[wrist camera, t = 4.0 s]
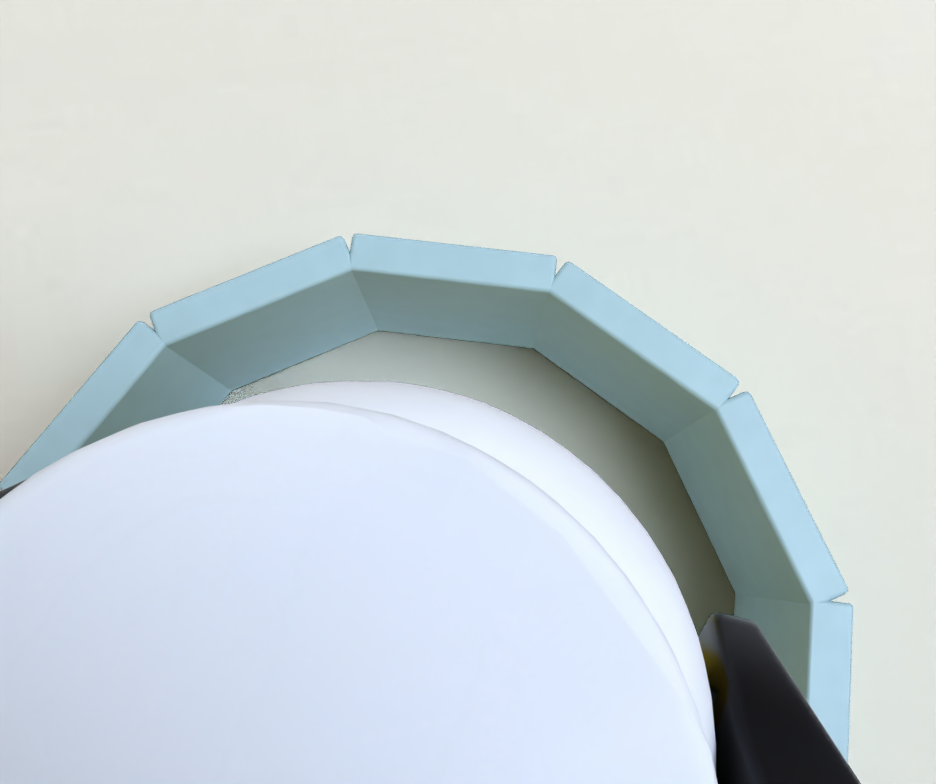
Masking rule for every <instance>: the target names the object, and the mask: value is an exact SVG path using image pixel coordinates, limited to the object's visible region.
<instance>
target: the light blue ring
mask: <svg viewBox="0 0 936 784" xmlns="http://www.w3.org/2000/svg"><path fill="white" fill-rule="evenodd" d="M556 263H557V260H556V257H555V256H553V255H544V254H535V253H526V252H517V251H508V250H499V249H490V248H481V247H473V246H464V245H455V244H446V243H437V242H428V241H419V240H410V239H401V238H392V237H383V236H374V235H365V234H354V236H353V237H352V243H351V249H350V252H349V250H348V247H347V245H346V242H345V240H344V239H343V238H342V237H341V236H339V237H335V238H333V239H330V240H328V241H326V242H323V243H321V244H318V245H316V246H313V247H311V248H308V249H306V250H303V251H301V252H298V253H296V254H293V255H291V256H288V257H286V258H283V259H281V260H278V261H276V262H273V263H271V264H268V265H266V266H263V267H261V268H258V269H256V270H254V271H251V272H249V273H246V274H244V275H241V276H239V277H236V278H234V279H231V280H229V281H226V282H224V283H221V284H219V285H216V286H214V287H211V288H209V289H206V290H204V291H201V292H199V293H196V294H194V295H191V296H189V297H186V298H184V299H181V300H179V301H177V302H174V303H172V304H169V305H167V306H164V307H162V308H159V309H157V310H154V311H152V312H151V313H150V318H151V320H152V323H153V326H154V329H155V330H154V329H152V328H151V327H149V326H148V325H147V324H145V323H144V322H141V321H138V322H137V323H136V324H135V325H134V326H133V327H132V328H131V330H130V331H129V332H128V333H127V334H126V335H125V337H124V338H123V339H122V340H121V341H120V342H119V344H118V345H117V346H116V347H115V348H114V350H113V351H112V352H111V353H110V354H109V355H108V357H107V358H106V359H105V360H104V361H103V362H102V364H101V365H100V366H99V367H98V368H97V369H96V371H95V372H94V373H93V374H92V375H91V377H90V378H89V379H88V380H87V381H86V382H85V384H84V385H83V386H82V387H81V388H80V389H79V391H78V392H77V393H76V394H75V395H74V397H73V398H72V399H71V400H70V401H69V402H68V404H67V405H66V406H65V407H64V408H63V409H62V411H61V412H60V413H59V414H58V415H57V416H56V418H55V419H54V420H53V421H52V422H51V424H50V425H49V426H48V427H47V428H46V429H45V431H44V432H43V433H42V434H41V435H40V436H39V438H38V439H37V440H36V441H35V442H34V444H33V445H32V446H31V447H30V448H29V449H28V451H27V452H26V453H25V454H24V455H23V456H22V458H21V459H20V460H19V461H18V462H17V463H16V465H15V466H14V467H13V468H12V469H11V471H10V472H9V473H8V474H7V475H6V476H5V478H4V479H3V480H2V481H1V482H0V489H1V490H4V489H6V488H8V487H10V486H13V485H15V484H17V483H19V482H21V481H24V480H26V479H28V478H30V477H31V476H32V475H34V474H35V473H37V472H38V471H40V470H42V469H44V468H45V467H47V466H49V465H51V464H52V463H54V462H56V461H58V460H60V459H61V458H63V457H65V456H67V455H68V454H70V453H72V452H74V451H76V450H78V449H80V448H83V447H85V446H87V445H89V444H92V443H94V442H96V441H99V440H101V439H103V438H106V437H108V436H110V435H112V434H115V433H117V432H119V431H122V430H124V429H126V428H129V427H131V426H134V425H137V424H139V423H142V422H146V421H150V420H153V419H157V418H161V417H165V416H168V415H172V414H176V413H180V412H185V411H189V410H194V409H198V408H202V407H208V406H215V405H220V404H221V403H222V402H223V401H224V399H225V398H226V397H227V396H228V394H229V393H230V392H231V391H232V390H234V389H237V388H239V387H242V386H244V385H247V384H249V383H251V382H254V381H256V380H259V379H261V378H264V377H266V376H268V375H271V374H273V373H276V372H278V371H281V370H283V369H285V368H288V367H290V366H293V365H295V364H298V363H300V362H302V361H305V360H307V359H310V358H312V357H315V356H317V355H319V354H322V353H324V352H327V351H329V350H332V349H334V348H336V347H339V346H341V345H344V344H346V343H349V342H351V341H353V340H356V339H358V338H361V337H363V336H366V335H368V334H370V333H373V332H375V331H378V330H379V331H388V332H396V333H405V334H414V335H422V336H431V337H440V338H448V339H457V340H466V341H474V342H483V343H492V344H500V345H509V346H518V347H526V348H534V349H535V350H537V351H538V352H539V353H541V354H542V355H544V356H545V357H546V358H548V359H549V360H551V361H552V362H553V363H555V364H556V365H557V366H559V367H560V368H562V369H563V370H564V371H566V372H567V373H569V374H570V375H571V376H573V377H574V378H576V379H577V380H578V381H580V382H581V383H583V384H584V385H585V386H587V387H588V388H589V389H591V390H592V391H594V392H595V393H596V394H598V395H599V396H601V397H602V398H603V399H605V400H606V401H608V402H609V403H610V404H612V405H613V406H615V407H616V408H617V409H619V410H620V411H621V412H623V413H624V414H626V415H627V416H628V417H630V418H631V419H633V420H634V421H635V422H637V423H638V424H640V425H641V426H642V427H644V428H645V429H646V430H648V431H649V432H651V433H652V434H653V435H655V436H656V437H658V438H659V439H660V440H662V441H663V442H664V444H665V446H666V448H667V450H668V452H669V454H670V456H671V458H672V461H673V463H674V465H675V467H676V469H677V471H678V473H679V475H680V477H681V479H682V482H683V484H684V486H685V488H686V490H687V492H688V494H689V496H690V498H691V501H692V503H693V505H694V507H695V509H696V511H697V513H698V515H699V517H700V519H701V522H702V524H703V526H704V528H705V530H706V532H707V534H708V536H709V538H710V541H711V543H712V545H713V547H714V549H715V551H716V553H717V555H718V557H719V559H720V562H721V564H722V566H723V568H724V570H725V572H726V574H727V576H728V578H729V581H730V583H731V585H732V587H733V589H734V591H735V610H734V616H737V617H741V618H745V619H749V620H751V621H753V622H754V623H755V624H756V625H757V626H758V627H759V628H760V630H761V631H762V633H763V634H764V636H765V637H766V639H767V640H768V642H769V643H770V645H771V646H772V648H773V650H774V651H775V653H776V654H777V656H778V657H779V659H780V660H781V662H782V663H783V665H784V666H785V668H786V670H787V671H788V673H789V674H790V676H791V677H792V679H793V680H794V682H795V683H796V685H797V686H798V688H799V689H800V691H801V693H802V694H803V696H804V697H805V699H806V700H807V702H808V703H809V705H810V706H811V708H812V709H813V711H814V713H815V714H816V716H817V717H818V719H819V720H820V722H821V723H822V725H823V726H824V728H825V729H826V731H827V732H828V734H829V736H830V737H831V739H832V740H833V742H834V743H835V745H836V746H837V748H838V749H839V751H840V752H841V754H842V755H843V757H844V759H845V760H846V762H847V763H848V743H849V713H850V684H851V654H852V625H853V606H852V605H851V604H849V603H841V602H833V601H831V600H833V599H835V598H837V597H840V596H842V595H844V594H846V592H847V591H848V588H847V585H846V583H845V581H844V579H843V577H842V575H841V573H840V571H839V569H838V567H837V565H836V563H835V561H834V559H833V557H832V555H831V553H830V551H829V549H828V547H827V545H826V543H825V541H824V539H823V537H822V535H821V533H820V532H819V530H818V528H817V526H816V524H815V522H814V520H813V518H812V516H811V514H810V512H809V510H808V508H807V506H806V504H805V502H804V500H803V498H802V496H801V494H800V492H799V490H798V488H797V486H796V484H795V482H794V480H793V478H792V476H791V474H790V472H789V470H788V468H787V466H786V464H785V462H784V460H783V458H782V456H781V454H780V452H779V450H778V448H777V446H776V444H775V442H774V440H773V438H772V436H771V434H770V432H769V430H768V428H767V426H766V424H765V422H764V420H763V418H762V416H761V414H760V412H759V410H758V408H757V406H756V404H755V402H754V400H753V398H752V396H751V394H750V393H749V392H742V393H740V394H738V395H735V396H733V397H731V398H730V396H731V395H732V393H733V392H734V390H735V389H736V388H737V386H738V384H739V381H738V379H737V378H736V377H734V376H733V375H731V374H730V373H729V372H727V371H726V370H724V369H723V368H721V367H720V366H719V365H717V364H716V363H714V362H713V361H711V360H710V359H709V358H707V357H706V356H704V355H703V354H701V353H700V352H699V351H697V350H696V349H694V348H693V347H691V346H690V345H689V344H687V343H686V342H684V341H683V340H681V339H680V338H678V337H677V336H676V335H674V334H673V333H671V332H670V331H668V330H667V329H666V328H664V327H663V326H661V325H660V324H658V323H657V322H656V321H654V320H653V319H651V318H650V317H648V316H647V315H646V314H644V313H643V312H641V311H640V310H638V309H637V308H636V307H634V306H633V305H631V304H630V303H628V302H627V301H626V300H624V299H623V298H621V297H620V296H618V295H617V294H616V293H614V292H613V291H611V290H610V289H608V288H607V287H605V286H604V285H603V284H601V283H600V282H598V281H597V280H595V279H594V278H593V277H591V276H590V275H588V274H587V273H585V272H584V271H583V270H581V269H580V268H578V267H577V266H575V265H574V264H573V263H571V262H567V263H565V264H564V265H563V266H562V268H561V269H560V270H559V271H558V273H557V274H556V275H555V272H556Z"/></svg>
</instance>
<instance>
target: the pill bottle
mask: <svg viewBox="0 0 936 784" xmlns="http://www.w3.org/2000/svg"><path fill="white" fill-rule="evenodd" d="M0 784H718V782H717V777H716V739H715V729H714V718H713V707H712V697H711V692H710V687H709V682H708V677H707V672H706V667H705V662H704V658H703V654H702V650H701V646H700V642H699V638H698V635H697V632H696V629H695V627H694V624H693V621H692V619H691V616H690V613H689V611H688V608H687V605H686V603H685V601H684V598H683V596H682V594H681V591H680V589H679V587H678V584H677V582H676V580H675V577H674V576H673V574H672V572H671V570H670V569H669V567H668V565H667V563H666V562H665V560H664V558H663V556H662V555H661V553H660V551H659V550H658V548H657V547H656V545H655V544H654V542H653V540H652V539H651V537H650V536H649V534H648V532H647V531H646V530H645V528H644V527H643V526H642V524H641V523H640V522H639V521H638V519H637V518H636V517H635V516H634V514H633V513H632V512H631V511H630V509H629V508H628V507H627V506H626V504H625V503H624V502H623V500H622V499H621V498H620V497H619V496H618V495H617V494H616V493H615V492H614V491H613V490H612V489H611V488H610V487H609V486H608V485H607V484H606V483H605V482H604V481H603V480H602V479H601V478H600V477H599V476H598V475H597V474H596V473H595V472H594V471H593V470H592V469H591V468H589V467H588V466H587V465H586V464H584V463H583V462H582V461H581V460H580V459H578V458H577V457H576V456H575V455H574V454H572V453H571V452H570V451H568V450H567V449H566V448H564V447H563V446H561V445H560V444H559V443H557V442H556V441H554V440H553V439H551V438H550V437H549V436H547V435H546V434H544V433H543V432H541V431H540V430H538V429H536V428H534V427H532V426H530V425H529V424H527V423H525V422H523V421H521V420H519V419H518V418H516V417H514V416H512V415H510V414H508V413H506V412H504V411H502V410H499V409H497V408H495V407H493V406H490V405H488V404H486V403H483V402H480V401H477V400H474V399H471V398H468V397H465V396H462V395H459V394H456V393H452V392H448V391H444V390H440V389H435V388H431V387H426V386H421V385H416V384H408V383H400V382H392V381H337V382H321V383H309V384H303V385H297V386H293V387H288V388H283V389H278V390H274V391H270V392H265V393H261V394H257V395H254V396H251V397H248V398H245V399H243V400H240V401H237V402H234V403H231V404H223V405H215V406H208V407H202V408H198V409H194V410H189V411H185V412H180V413H176V414H172V415H168V416H165V417H161V418H157V419H153V420H150V421H146V422H142V423H139V424H137V425H134V426H131V427H129V428H126V429H124V430H122V431H119V432H117V433H115V434H112V435H110V436H108V437H106V438H103V439H101V440H99V441H96V442H94V443H92V444H89V445H87V446H85V447H83V448H80V449H78V450H76V451H74V452H72V453H70V454H68V455H67V456H65V457H63V458H61V459H60V460H58V461H56V462H54V463H52V464H51V465H49V466H47V467H45V468H44V469H42V470H40V471H38V472H37V473H35V474H34V475H32V476H31V477H30V478H28V479H27V480H25V481H24V482H23V483H21V484H20V485H19V486H17V487H16V488H15V489H13V490H12V491H10V492H9V493H8V494H6V495H5V496H4V497H2V498H1V499H0Z"/></svg>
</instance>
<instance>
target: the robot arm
mask: <svg viewBox="0 0 936 784" xmlns="http://www.w3.org/2000/svg"><path fill="white" fill-rule="evenodd" d="M26 480H27V479H26ZM24 481H25V480H24ZM24 481H21V482H19V483H17V484H15V485H13V486H10V487H8V488H6V489H4V490H2V491H0V499H1V498H2V497H4V496H5V495H6V494H8V493H9V492H10V491H12V490H13V489H15V488H16V487H17V486H19V485H20V484H21V483H23V482H24ZM699 642H700V646H701V650H702V654H703V658H704V662H705V667H706V672H707V677H708V682H709V687H710V692H711V697H712V707H713V718H714V729H715V739H716V777H717V782H718V784H861V783H860V782H859V780H858V779H857V777H856V775H855V774H854V772H853V771H852V769H851V768H850V766H849V765H848V763H847V762H846V760H845V759H844V757H843V755H842V754H841V752H840V751H839V749H838V748H837V746H836V745H835V743H834V742H833V740H832V739H831V737H830V736H829V734H828V732H827V731H826V729H825V728H824V726H823V725H822V723H821V722H820V720H819V719H818V717H817V716H816V714H815V713H814V711H813V709H812V708H811V706H810V705H809V703H808V702H807V700H806V699H805V697H804V696H803V694H802V693H801V691H800V689H799V688H798V686H797V685H796V683H795V682H794V680H793V679H792V677H791V676H790V674H789V673H788V671H787V670H786V668H785V666H784V665H783V663H782V662H781V660H780V659H779V657H778V656H777V654H776V653H775V651H774V650H773V648H772V646H771V645H770V643H769V642H768V640H767V639H766V637H765V636H764V634H763V633H762V631H761V630H760V628H759V627H758V626H757V625H756V624H755V623H754V622H753V621H751V620H749V619H745V618H741V617H737V616H733V615H729V614H724V613H720V612H718V613H714V614H712V615H711V616H710V617H709V618H708V620H707V622H706V624H705V626H704V628H703V630H702V632H701V634H700V636H699Z"/></svg>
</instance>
